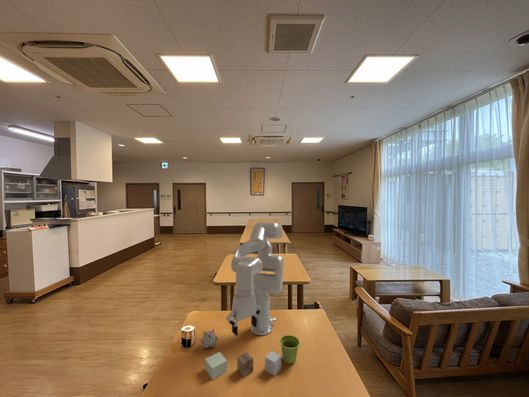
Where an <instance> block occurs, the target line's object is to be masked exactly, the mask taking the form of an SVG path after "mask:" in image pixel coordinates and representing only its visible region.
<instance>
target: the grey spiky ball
mask: <svg viewBox="0 0 529 397" xmlns="http://www.w3.org/2000/svg"><path fill="white" fill-rule="evenodd" d="M214 331H215V329H213V330H209V331H205V330H204V331H203V335H202V338H201V339H200V343H202V345H203V347H204V349H203V351H204V350H206V349H210V348H216V343H217V341H218V340H219V338H218V336H216V333H215V332H214Z"/></svg>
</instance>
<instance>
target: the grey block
mask: <svg viewBox="0 0 529 397" xmlns="http://www.w3.org/2000/svg"><path fill="white" fill-rule="evenodd" d="M264 359H265V360H264V366H265V367H264V371H265V372H267V373H269V374H271V375H272V376H276V375H277V374H278V373H279V372H280V371H281V369H282V355H281V354H279V353H277V352H275V351H273V350H271V351H269V353H268V354H267V355H265V358H264Z"/></svg>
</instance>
